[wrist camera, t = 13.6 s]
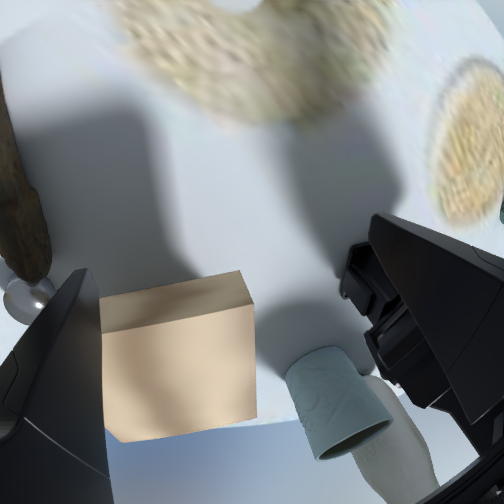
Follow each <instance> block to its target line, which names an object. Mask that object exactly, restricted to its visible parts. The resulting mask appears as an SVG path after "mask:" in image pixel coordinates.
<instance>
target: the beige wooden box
mask: <svg viewBox="0 0 504 504" xmlns="http://www.w3.org/2000/svg"><path fill="white" fill-rule="evenodd" d="M99 304H100V319H101V332H102V387H103V411H104V427H105V428H106V429H107V430H109V431H110V432H111V433H112V434H113V435H114V436H115V437H116V438H117V439H118V440H119V441H120V442H122V443H124V442H134V441H141V440H149V439H156V438H163V437H170V436H175V435H181V434H187V433H192V432H197V431H203V430H207V429H212V428H217V427H221V426H226V425H230V424H234V423H238V422H242V421H246V420H250V419H254V418H257V400H256V364H255V328H254V303H253V301H252V298H251V296H250V294H249V291H248V289H247V287H246V284H245V282H244V279H243V277H242V275H241V272H240V270H238V271H233V272H228V273H223V274H218V275H214V276H209V277H204V278H199V279H194V280H189V281H184V282H179V283H174V284H169V285H164V286H159V287H154V288H148V289H143V290H138V291H133V292H128V293H123V294H117V295H112V296H107V297H102V298H99ZM42 309H43V308H42Z"/></svg>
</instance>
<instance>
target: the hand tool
mask: <svg viewBox="0 0 504 504" xmlns="http://www.w3.org/2000/svg"><path fill="white" fill-rule="evenodd" d="M0 255H1V256H2V257H3V258H4V259H5V263H6V264H7V265H8V267H9V268H10V269H12V270H13V271H14V272H15V274H16V276H17V277H18V278H20V279H21V280H23V281H26V282H28V283H30V284H33V283H34V284H35V283H38V282H40V281H41V279H43V278H45V277H46V275H47V274H48V272H49V270H50V266H51V263H52V254H51V246H50V242H49V236H48V232H47V227H46V223H45V221H44V218H43V214H42V209H41V205H40V201H39V197H38V194H37V192H36V190H35V189H34V188H31V187H29V185H28V182H27V179H26V176H25V174H24V171H23V168H22V164H21V161H20V157H19V154H18V151H17V147H16V144H15V139H14V133H13V129H12V125H11V123H10V121H9V118H8V115H7V110H6V105H5V101H4V96H3V89H2V83H1V78H0Z"/></svg>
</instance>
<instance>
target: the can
mask: <svg viewBox="0 0 504 504" xmlns="http://www.w3.org/2000/svg"><path fill="white" fill-rule="evenodd" d="M500 220H501V222H502V223H503V224H504V203H503V204H502V209H501V210H500Z"/></svg>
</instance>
